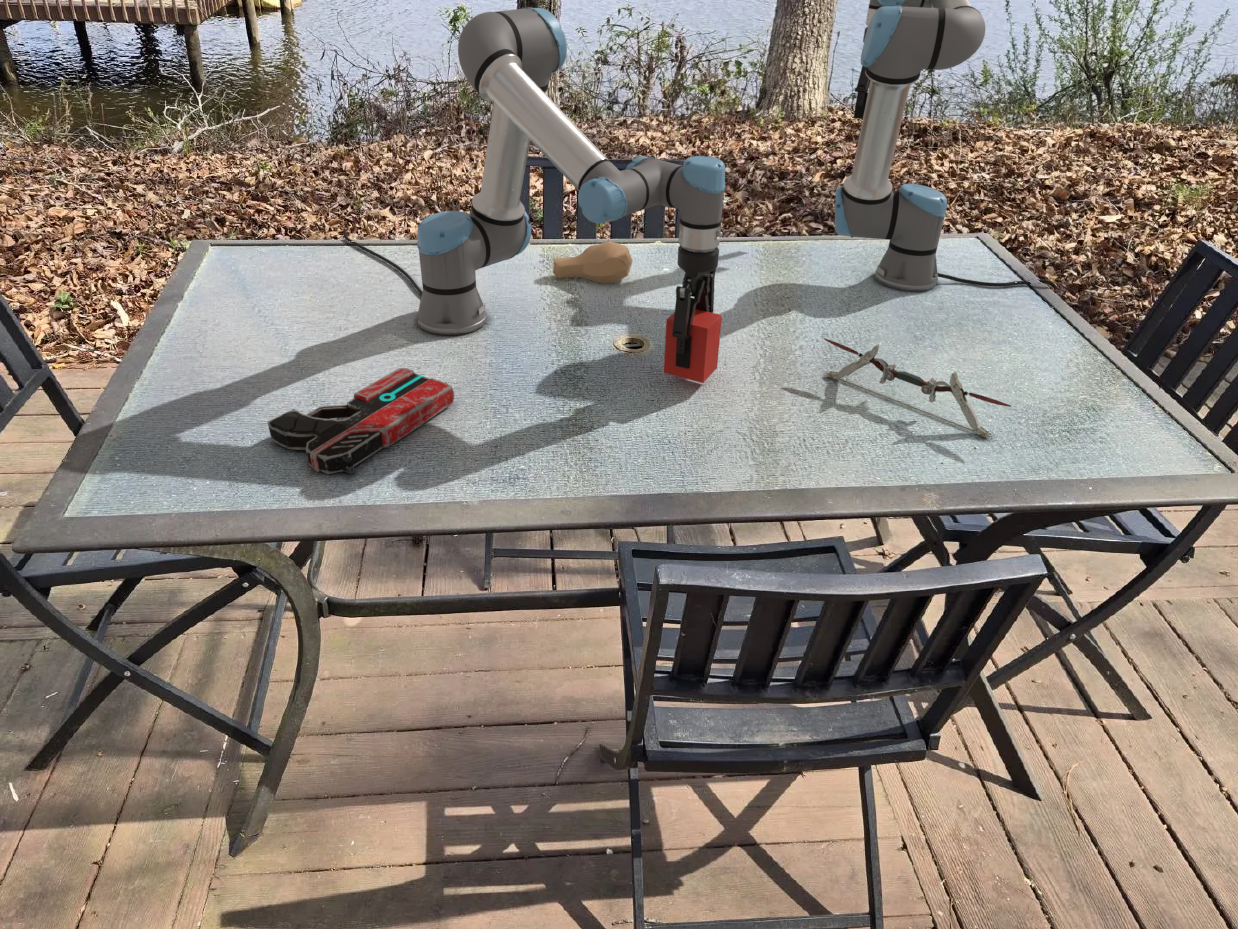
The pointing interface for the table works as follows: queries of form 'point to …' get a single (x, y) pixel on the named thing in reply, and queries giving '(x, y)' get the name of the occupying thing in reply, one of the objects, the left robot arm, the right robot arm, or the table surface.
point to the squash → (596, 263)
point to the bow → (927, 387)
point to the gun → (362, 421)
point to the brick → (695, 347)
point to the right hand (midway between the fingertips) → (865, 113)
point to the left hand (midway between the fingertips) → (690, 358)
